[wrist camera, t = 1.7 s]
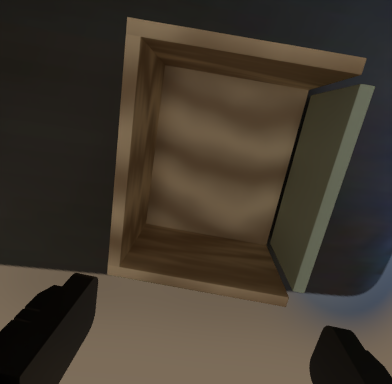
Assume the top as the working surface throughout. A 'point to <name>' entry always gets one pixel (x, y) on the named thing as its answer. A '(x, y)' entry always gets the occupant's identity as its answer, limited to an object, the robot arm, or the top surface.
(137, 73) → the crate
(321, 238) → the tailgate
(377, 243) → the top surface
